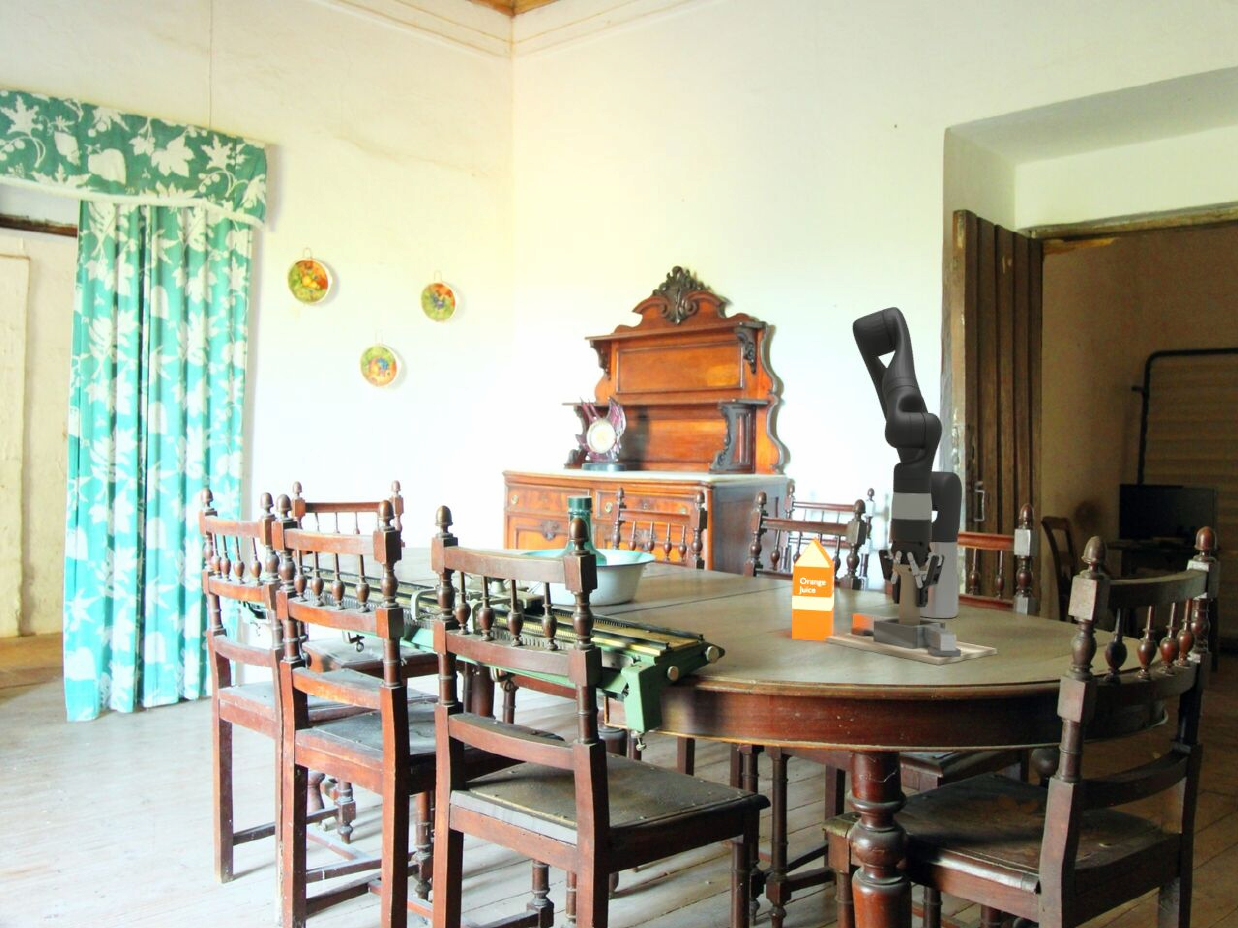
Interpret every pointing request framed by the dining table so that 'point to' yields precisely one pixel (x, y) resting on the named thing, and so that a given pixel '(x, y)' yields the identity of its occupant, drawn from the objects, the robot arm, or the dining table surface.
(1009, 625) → the dining table surface
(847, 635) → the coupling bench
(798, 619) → the orange juice
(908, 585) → the handle
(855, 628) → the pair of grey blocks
